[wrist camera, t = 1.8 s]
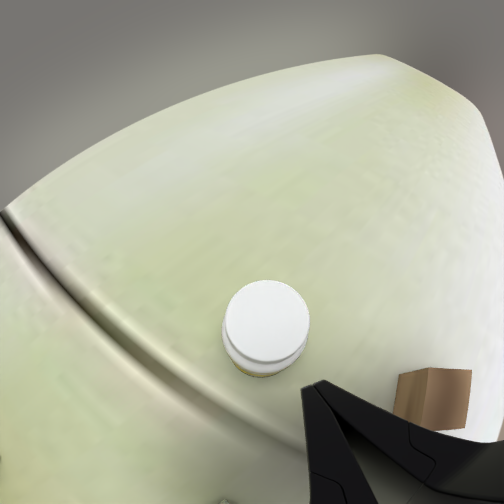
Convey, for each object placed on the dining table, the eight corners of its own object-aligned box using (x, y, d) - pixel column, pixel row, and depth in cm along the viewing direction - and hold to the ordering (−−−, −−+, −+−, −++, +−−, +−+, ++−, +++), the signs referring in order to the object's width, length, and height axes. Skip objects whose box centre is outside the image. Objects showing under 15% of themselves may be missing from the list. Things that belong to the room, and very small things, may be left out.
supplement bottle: (261, 303, 22) (268, 252, 14) (305, 345, 20) (339, 317, 13) (214, 345, 20) (195, 316, 13) (259, 391, 19) (268, 391, 11)
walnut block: (439, 377, 19) (472, 369, 15) (432, 426, 17) (464, 428, 13) (398, 374, 19) (428, 367, 15) (389, 427, 17) (419, 431, 13)
